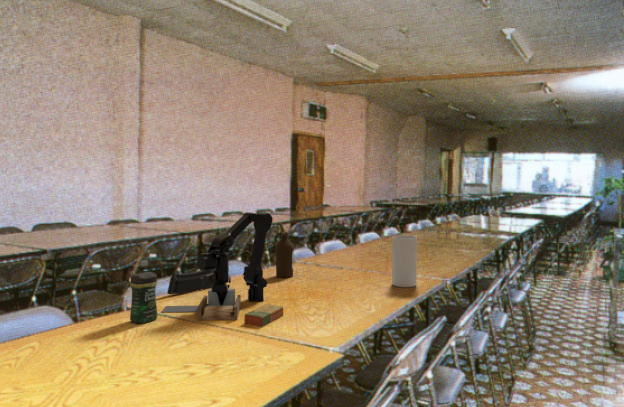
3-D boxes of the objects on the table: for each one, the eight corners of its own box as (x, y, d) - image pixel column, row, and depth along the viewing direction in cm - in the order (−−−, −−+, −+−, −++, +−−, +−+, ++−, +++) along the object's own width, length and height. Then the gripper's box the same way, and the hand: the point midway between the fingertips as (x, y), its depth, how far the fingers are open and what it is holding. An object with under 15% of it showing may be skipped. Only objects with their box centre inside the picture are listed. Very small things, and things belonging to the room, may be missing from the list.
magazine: (166, 278, 215) (215, 252, 237) (162, 277, 217) (211, 251, 239) (176, 311, 220) (223, 282, 242) (171, 310, 222) (218, 281, 244)
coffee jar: (140, 325, 176) (139, 276, 175) (126, 321, 180) (126, 273, 179) (161, 319, 184) (160, 271, 183) (148, 315, 188) (147, 269, 187)
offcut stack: (234, 313, 191) (234, 304, 191) (233, 318, 185) (233, 309, 185) (204, 314, 190) (204, 305, 190) (202, 318, 184) (202, 309, 184)
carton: (283, 316, 189) (283, 306, 189) (262, 328, 175) (262, 316, 174) (265, 313, 193) (265, 303, 192) (243, 324, 178) (243, 313, 178)
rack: (240, 306, 202) (240, 294, 202) (237, 319, 183) (237, 307, 183) (204, 307, 201) (204, 295, 201) (197, 320, 182) (197, 307, 182)
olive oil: (276, 278, 258) (276, 233, 256) (273, 274, 268) (273, 231, 267) (295, 277, 260) (295, 232, 259) (292, 274, 270) (292, 230, 269)
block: (235, 307, 200) (235, 288, 200) (234, 309, 197) (234, 290, 197) (209, 308, 200) (208, 289, 199) (208, 309, 197) (207, 291, 196)
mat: (204, 306, 202) (204, 305, 202) (200, 312, 193) (200, 311, 193) (166, 306, 201) (166, 306, 201) (161, 312, 192) (161, 312, 192)
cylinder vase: (389, 286, 241) (390, 237, 239) (394, 281, 252) (395, 234, 251) (414, 288, 236) (414, 239, 235) (418, 283, 248) (419, 236, 246)
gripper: (205, 263, 206) (205, 298, 207) (198, 271, 188) (198, 310, 188) (231, 263, 207) (231, 298, 208) (226, 271, 189) (227, 310, 189)
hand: (221, 303), depth 198 cm, fingers closed on block, 3 cm apart
